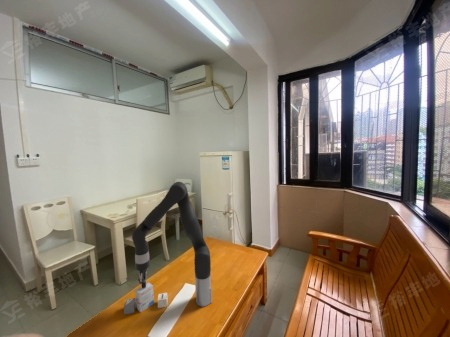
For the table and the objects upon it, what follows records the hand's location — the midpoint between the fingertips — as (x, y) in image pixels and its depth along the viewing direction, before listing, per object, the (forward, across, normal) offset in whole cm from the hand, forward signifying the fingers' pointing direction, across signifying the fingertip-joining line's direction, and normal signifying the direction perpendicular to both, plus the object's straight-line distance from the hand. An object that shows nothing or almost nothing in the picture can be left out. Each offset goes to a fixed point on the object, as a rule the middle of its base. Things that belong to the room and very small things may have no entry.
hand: (144, 287), depth 110 cm
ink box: (+12, 0, 0) cm, 12 cm away
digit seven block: (+12, -1, +8) cm, 15 cm away
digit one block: (+12, -1, -10) cm, 16 cm away
